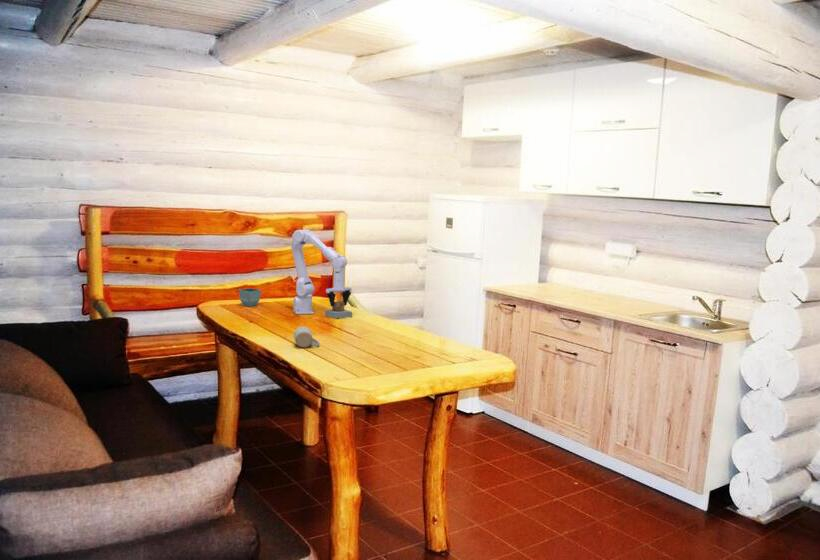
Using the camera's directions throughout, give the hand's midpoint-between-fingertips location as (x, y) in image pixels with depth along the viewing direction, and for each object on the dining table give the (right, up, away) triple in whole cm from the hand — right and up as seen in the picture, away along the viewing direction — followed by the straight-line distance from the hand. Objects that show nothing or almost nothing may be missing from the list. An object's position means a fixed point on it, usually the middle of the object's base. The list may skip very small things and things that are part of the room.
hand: (338, 305), depth 355 cm
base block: (0, -6, +1) cm, 6 cm away
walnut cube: (0, -3, 0) cm, 3 cm away
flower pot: (-51, -1, +21) cm, 55 cm away
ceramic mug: (-7, -15, -66) cm, 68 cm away
